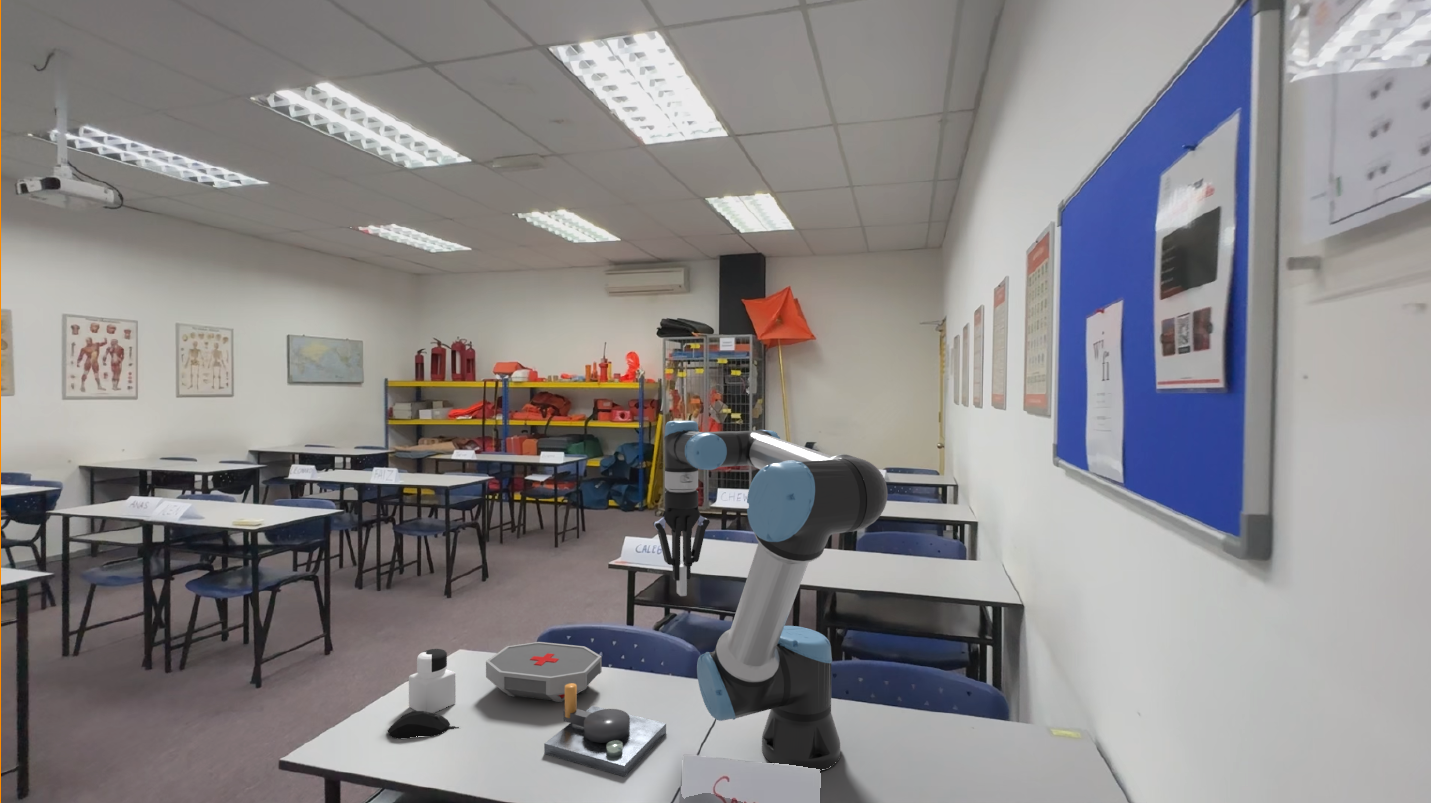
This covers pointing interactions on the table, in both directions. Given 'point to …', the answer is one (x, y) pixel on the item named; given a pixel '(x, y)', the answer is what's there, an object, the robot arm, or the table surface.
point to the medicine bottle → (432, 683)
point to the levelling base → (607, 745)
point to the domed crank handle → (596, 719)
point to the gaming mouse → (419, 725)
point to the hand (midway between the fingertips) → (681, 593)
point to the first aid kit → (543, 669)
